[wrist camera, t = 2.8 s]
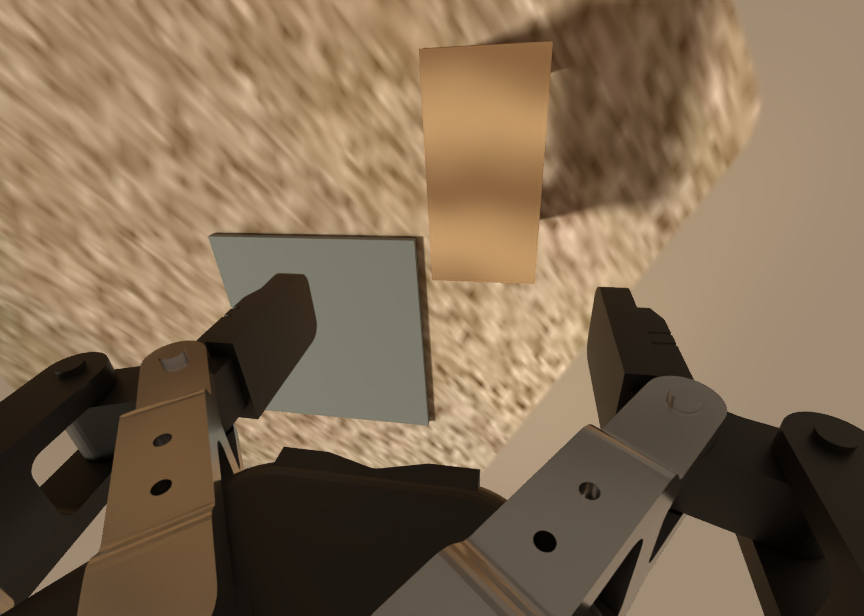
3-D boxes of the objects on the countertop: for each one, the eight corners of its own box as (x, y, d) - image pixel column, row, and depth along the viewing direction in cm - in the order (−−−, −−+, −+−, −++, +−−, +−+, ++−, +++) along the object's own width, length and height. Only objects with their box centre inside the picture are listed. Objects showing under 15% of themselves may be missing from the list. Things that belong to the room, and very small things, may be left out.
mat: (212, 233, 39) (208, 236, 38) (415, 237, 35) (414, 240, 35) (267, 406, 49) (265, 409, 48) (429, 421, 46) (428, 425, 45)
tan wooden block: (447, 45, 28) (419, 48, 21) (545, 39, 27) (552, 41, 20) (452, 226, 34) (432, 280, 27) (532, 227, 33) (534, 283, 26)
